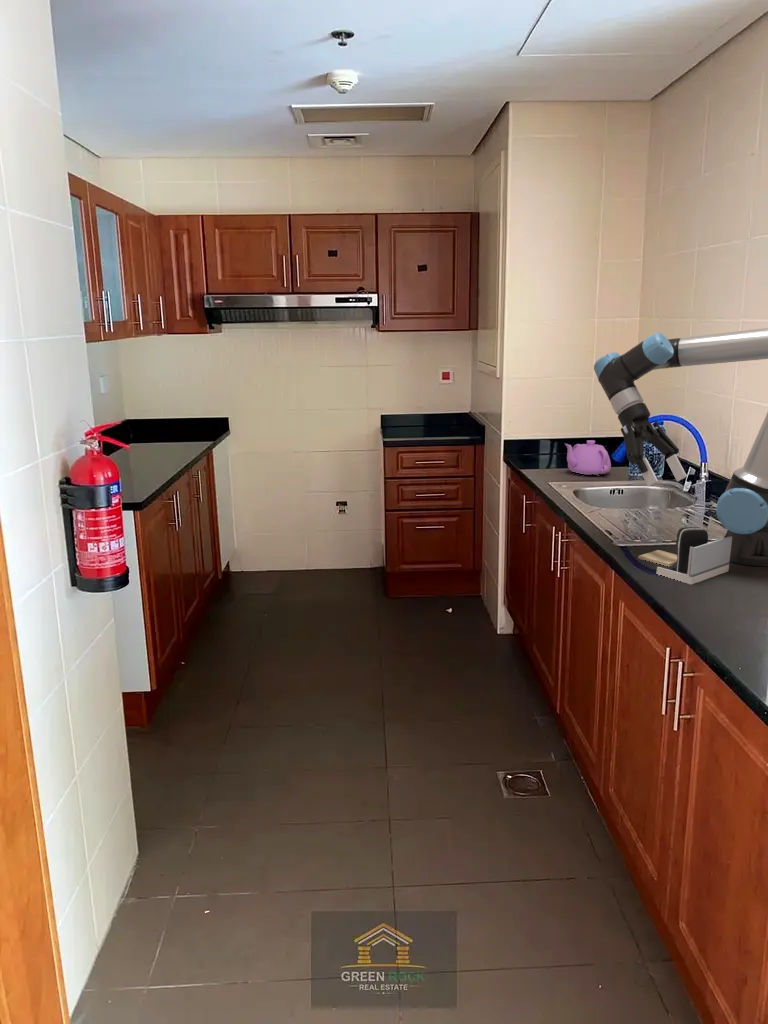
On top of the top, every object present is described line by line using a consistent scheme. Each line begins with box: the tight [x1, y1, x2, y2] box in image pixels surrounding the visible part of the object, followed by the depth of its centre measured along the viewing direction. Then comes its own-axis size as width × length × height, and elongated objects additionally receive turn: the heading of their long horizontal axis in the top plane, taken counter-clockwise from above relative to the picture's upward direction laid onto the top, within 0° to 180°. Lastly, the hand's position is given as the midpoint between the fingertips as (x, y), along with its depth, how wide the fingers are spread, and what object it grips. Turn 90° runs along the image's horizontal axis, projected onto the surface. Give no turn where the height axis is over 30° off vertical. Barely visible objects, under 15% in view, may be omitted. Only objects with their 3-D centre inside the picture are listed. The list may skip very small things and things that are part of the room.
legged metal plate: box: [655, 536, 732, 586], centre depth 191 cm, size 17×9×9 cm, turn 128°
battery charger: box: [674, 526, 709, 574], centre depth 192 cm, size 7×4×11 cm, turn 93°
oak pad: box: [638, 549, 677, 568], centre depth 203 cm, size 9×9×1 cm
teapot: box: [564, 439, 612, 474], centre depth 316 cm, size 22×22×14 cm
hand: (668, 481), depth 194 cm, fingers open, 13 cm apart
